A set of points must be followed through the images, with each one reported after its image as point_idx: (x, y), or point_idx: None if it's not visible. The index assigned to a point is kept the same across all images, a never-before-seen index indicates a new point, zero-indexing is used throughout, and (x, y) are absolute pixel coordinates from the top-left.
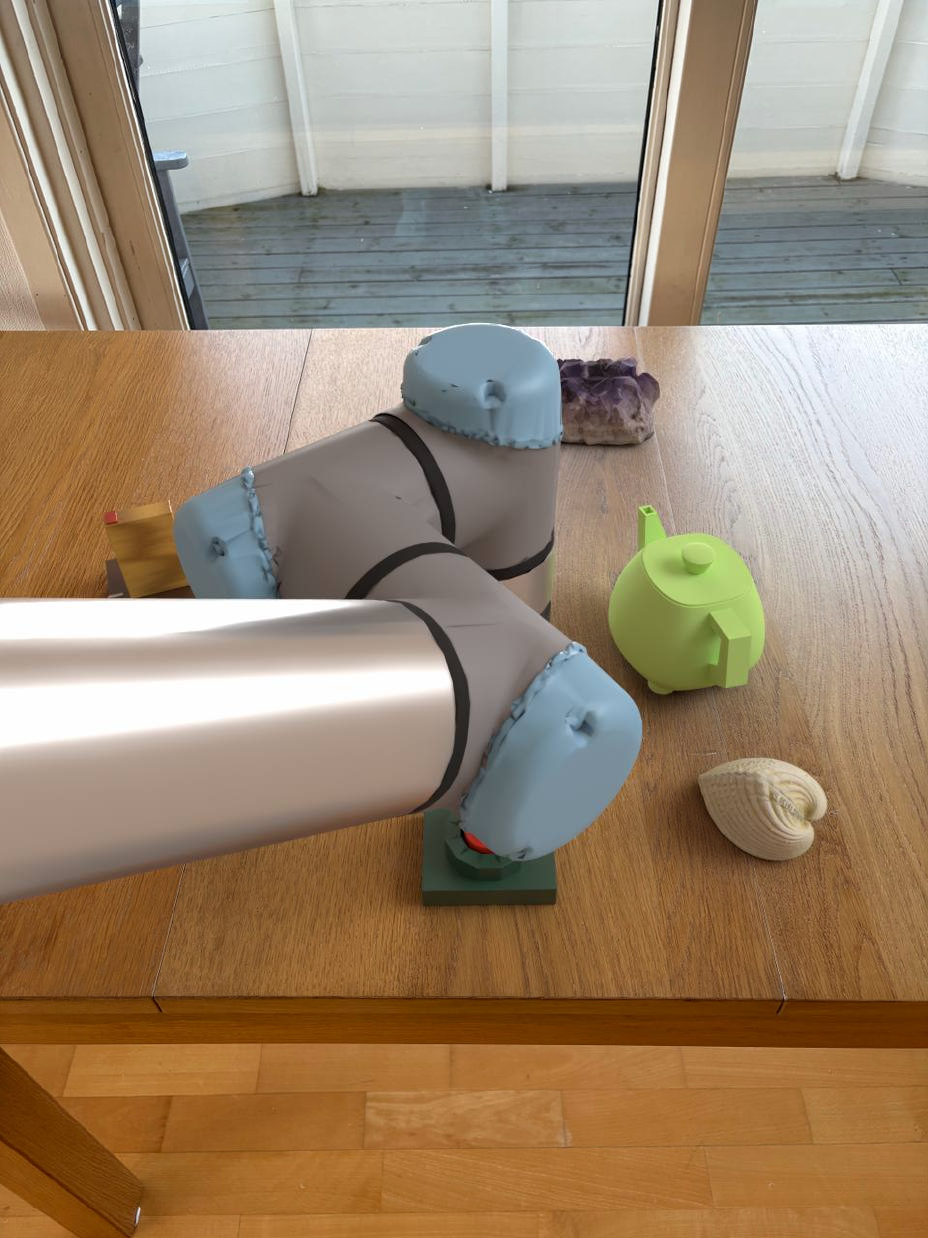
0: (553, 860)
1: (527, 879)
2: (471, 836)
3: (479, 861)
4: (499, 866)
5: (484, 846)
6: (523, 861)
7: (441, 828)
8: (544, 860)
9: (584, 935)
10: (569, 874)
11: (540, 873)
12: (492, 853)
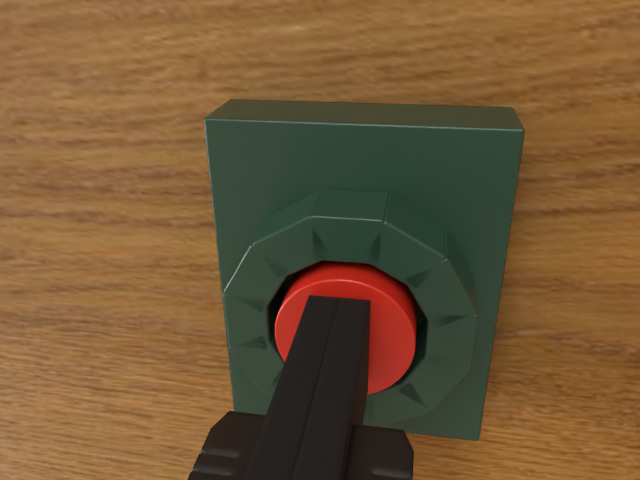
0: (421, 130)
1: (479, 210)
2: (374, 384)
3: (450, 365)
4: (473, 318)
5: (409, 357)
6: (430, 225)
7: None
8: (420, 157)
9: (628, 32)
10: (421, 57)
11: (464, 173)
12: (415, 319)
